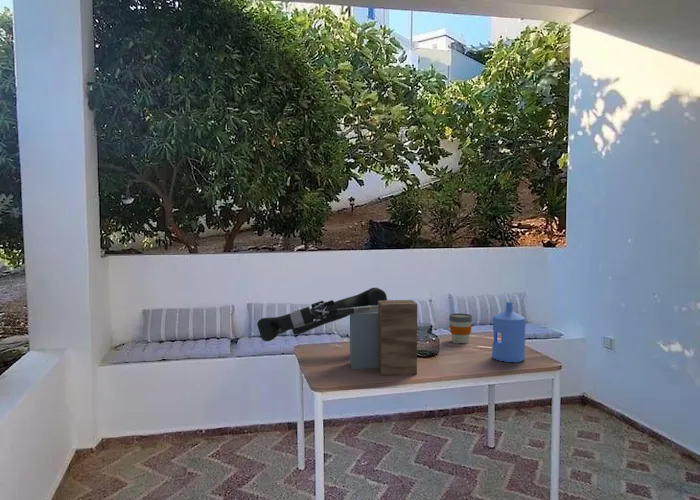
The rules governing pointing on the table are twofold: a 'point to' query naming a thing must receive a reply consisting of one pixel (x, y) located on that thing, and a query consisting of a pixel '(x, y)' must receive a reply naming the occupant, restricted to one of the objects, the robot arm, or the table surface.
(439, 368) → the table surface
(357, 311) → the lever bar
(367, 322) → the grey rectangular box
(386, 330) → the upright wooden block
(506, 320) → the water jug
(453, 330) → the reusable coffee cup
